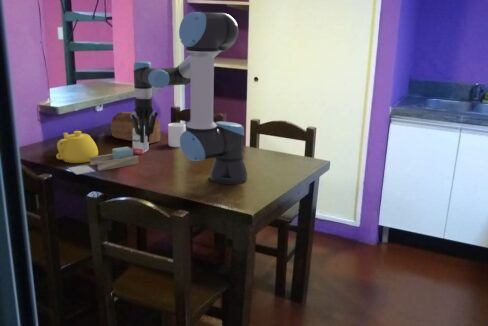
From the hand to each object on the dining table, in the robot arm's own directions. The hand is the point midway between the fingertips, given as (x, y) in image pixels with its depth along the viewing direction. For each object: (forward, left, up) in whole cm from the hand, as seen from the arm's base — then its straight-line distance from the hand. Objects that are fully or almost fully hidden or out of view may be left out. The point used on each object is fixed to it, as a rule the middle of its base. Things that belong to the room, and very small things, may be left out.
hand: (144, 149), depth 222 cm
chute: (0, +15, -5) cm, 15 cm away
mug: (+15, -26, -5) cm, 31 cm away
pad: (0, +29, -5) cm, 30 cm away
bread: (+35, -12, -5) cm, 37 cm away
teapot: (+18, +26, -5) cm, 32 cm away
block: (0, +11, -5) cm, 12 cm away
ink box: (+13, -4, -5) cm, 15 cm away
